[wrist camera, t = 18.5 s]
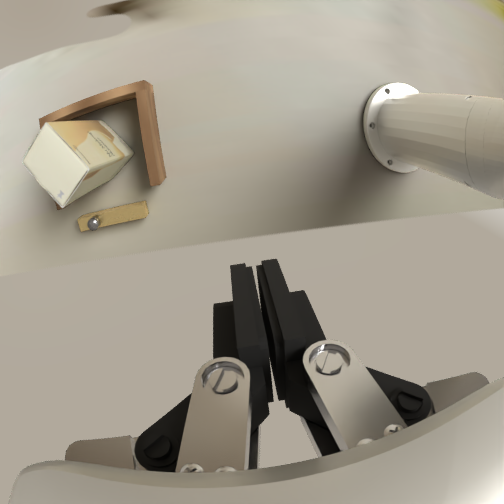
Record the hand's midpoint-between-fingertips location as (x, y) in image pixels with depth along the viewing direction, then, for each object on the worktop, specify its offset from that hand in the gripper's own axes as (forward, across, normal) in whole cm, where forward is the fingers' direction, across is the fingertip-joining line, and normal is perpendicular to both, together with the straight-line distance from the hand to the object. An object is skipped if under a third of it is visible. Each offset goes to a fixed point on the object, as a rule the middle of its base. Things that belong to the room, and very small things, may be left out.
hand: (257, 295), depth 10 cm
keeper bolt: (+22, +15, +2) cm, 27 cm away
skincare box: (+23, +14, -6) cm, 27 cm away
